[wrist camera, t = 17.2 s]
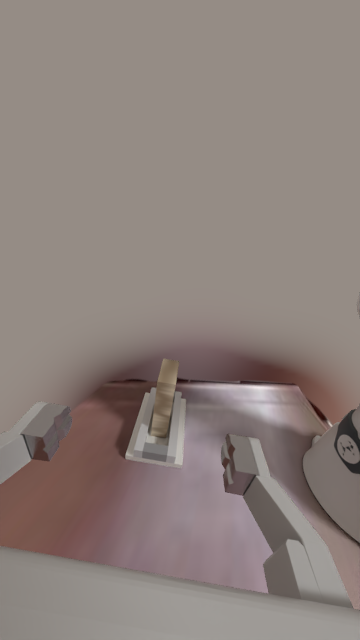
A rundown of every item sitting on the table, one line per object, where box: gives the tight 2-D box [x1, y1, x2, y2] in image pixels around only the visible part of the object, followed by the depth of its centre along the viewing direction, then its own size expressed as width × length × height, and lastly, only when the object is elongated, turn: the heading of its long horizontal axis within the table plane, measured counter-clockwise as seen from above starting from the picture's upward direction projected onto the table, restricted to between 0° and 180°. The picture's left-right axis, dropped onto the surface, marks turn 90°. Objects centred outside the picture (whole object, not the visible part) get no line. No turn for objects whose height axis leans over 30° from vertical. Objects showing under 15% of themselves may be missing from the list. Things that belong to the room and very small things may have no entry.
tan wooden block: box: [151, 359, 179, 438], centre depth 35 cm, size 3×6×14 cm, turn 175°
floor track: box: [125, 387, 186, 469], centre depth 38 cm, size 10×14×3 cm
